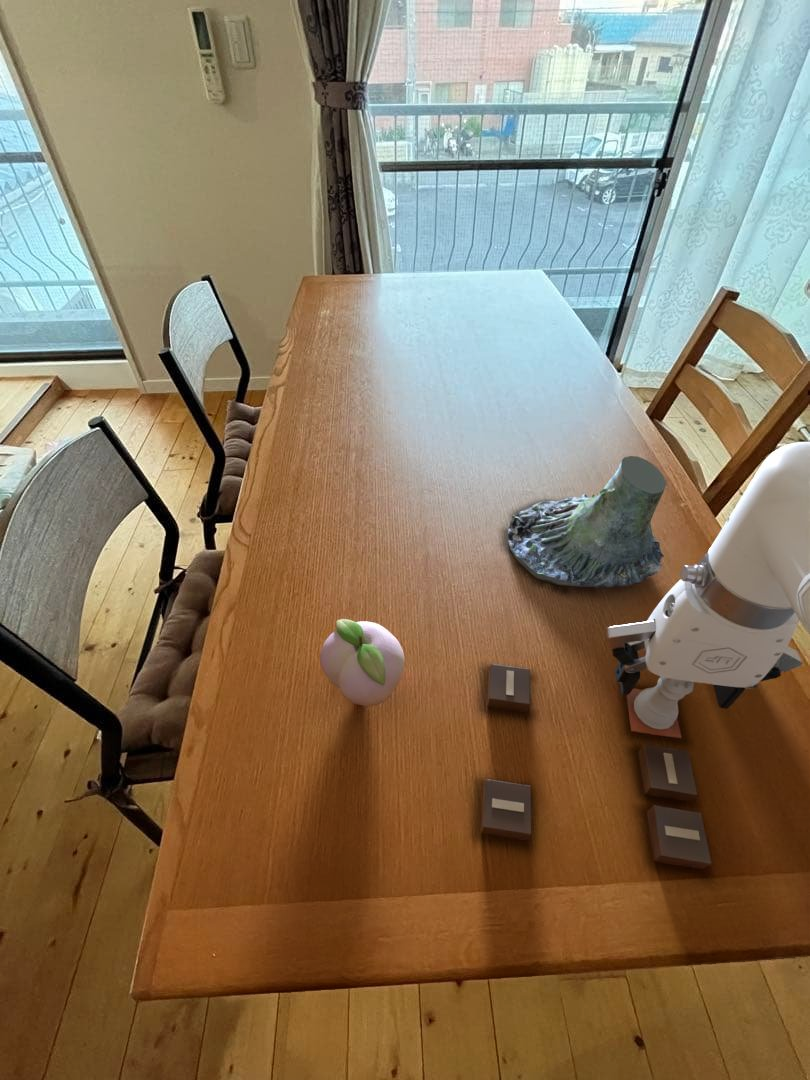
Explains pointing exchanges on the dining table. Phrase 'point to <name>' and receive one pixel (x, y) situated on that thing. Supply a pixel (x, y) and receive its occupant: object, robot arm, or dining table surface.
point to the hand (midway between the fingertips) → (670, 688)
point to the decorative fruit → (362, 661)
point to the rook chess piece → (661, 702)
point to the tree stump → (594, 532)
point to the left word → (501, 800)
